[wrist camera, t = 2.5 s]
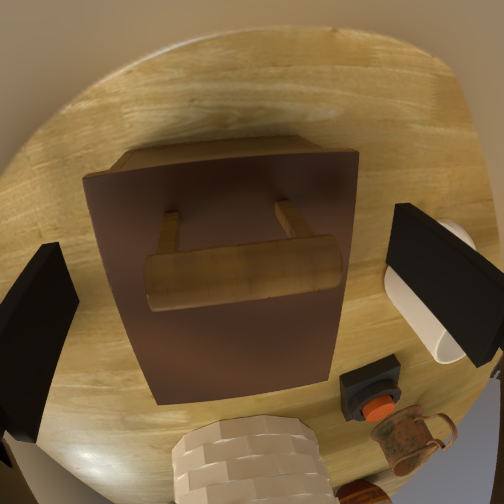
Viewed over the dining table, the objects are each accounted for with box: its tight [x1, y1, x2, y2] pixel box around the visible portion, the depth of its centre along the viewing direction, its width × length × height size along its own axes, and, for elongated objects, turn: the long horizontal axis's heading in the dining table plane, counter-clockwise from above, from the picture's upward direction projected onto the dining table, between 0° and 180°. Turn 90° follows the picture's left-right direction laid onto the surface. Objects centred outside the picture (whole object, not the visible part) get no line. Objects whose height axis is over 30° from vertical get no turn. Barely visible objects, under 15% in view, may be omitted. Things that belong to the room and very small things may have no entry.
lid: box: [82, 148, 359, 405], centre depth 15 cm, size 16×13×7 cm
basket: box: [171, 415, 340, 504], centre depth 37 cm, size 25×24×19 cm
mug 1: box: [384, 219, 477, 364], centre depth 26 cm, size 12×8×10 cm
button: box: [362, 395, 395, 422], centre depth 37 cm, size 4×4×2 cm
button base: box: [340, 354, 401, 422], centre depth 39 cm, size 10×8×4 cm
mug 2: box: [371, 406, 457, 477], centre depth 45 cm, size 12×18×12 cm, turn 169°
